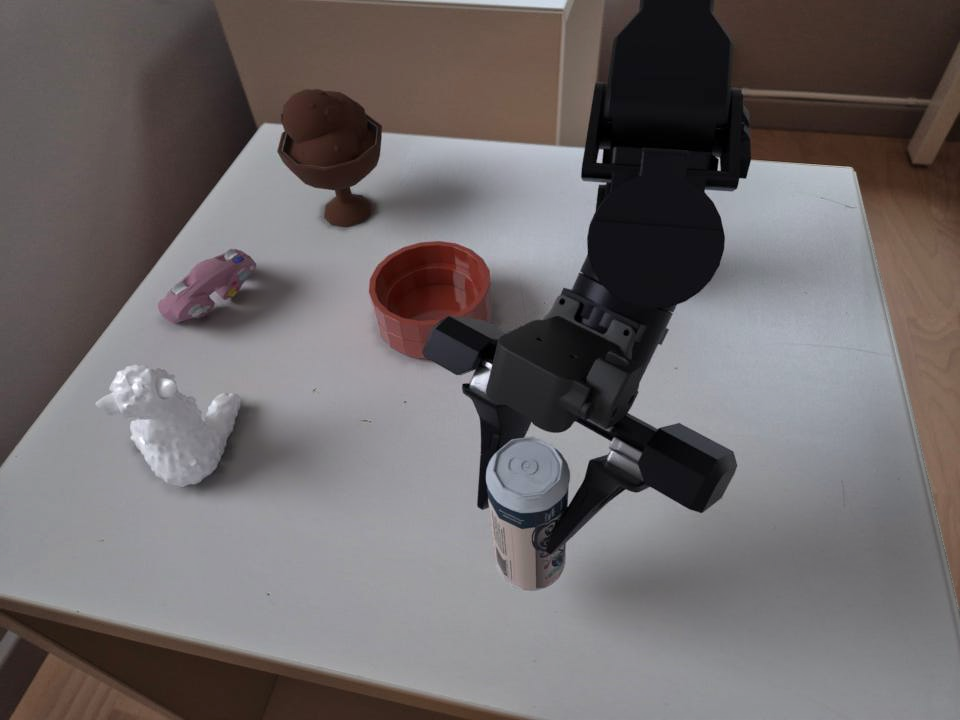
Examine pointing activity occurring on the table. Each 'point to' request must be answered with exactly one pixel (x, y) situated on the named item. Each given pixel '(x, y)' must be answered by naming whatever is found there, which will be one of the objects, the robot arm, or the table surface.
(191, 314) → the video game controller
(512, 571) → the beer can
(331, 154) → the ice cream bowl
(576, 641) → the table surface
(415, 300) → the red bowl
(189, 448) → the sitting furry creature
